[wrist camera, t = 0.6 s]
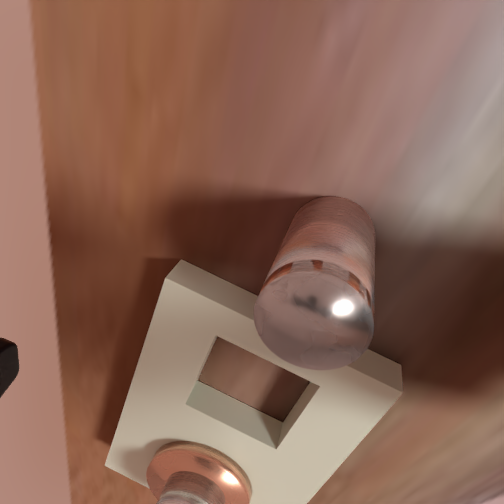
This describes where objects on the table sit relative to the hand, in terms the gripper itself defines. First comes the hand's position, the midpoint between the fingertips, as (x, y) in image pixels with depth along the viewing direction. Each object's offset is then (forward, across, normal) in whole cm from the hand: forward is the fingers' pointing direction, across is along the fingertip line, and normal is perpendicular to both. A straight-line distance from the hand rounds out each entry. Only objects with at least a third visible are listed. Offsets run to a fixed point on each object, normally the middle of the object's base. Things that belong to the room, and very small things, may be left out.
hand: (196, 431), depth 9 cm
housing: (+13, +1, +14) cm, 19 cm away
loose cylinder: (+13, -2, +1) cm, 13 cm away
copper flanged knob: (+11, +1, +19) cm, 22 cm away
